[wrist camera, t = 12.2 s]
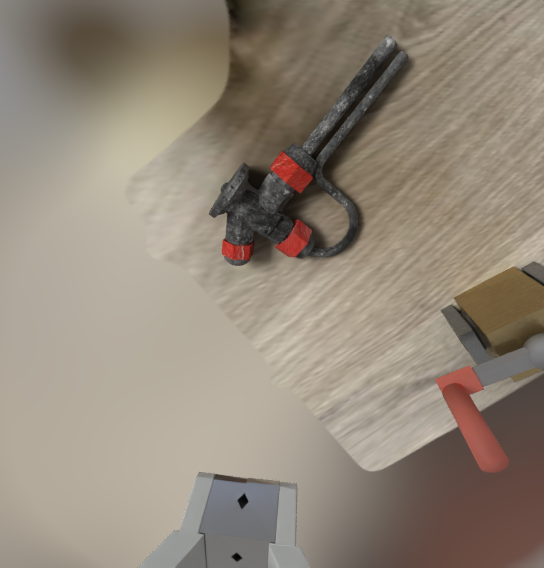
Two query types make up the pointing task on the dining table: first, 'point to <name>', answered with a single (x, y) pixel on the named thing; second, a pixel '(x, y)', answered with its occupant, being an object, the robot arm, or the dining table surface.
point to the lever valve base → (500, 314)
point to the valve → (299, 177)
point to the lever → (466, 381)
